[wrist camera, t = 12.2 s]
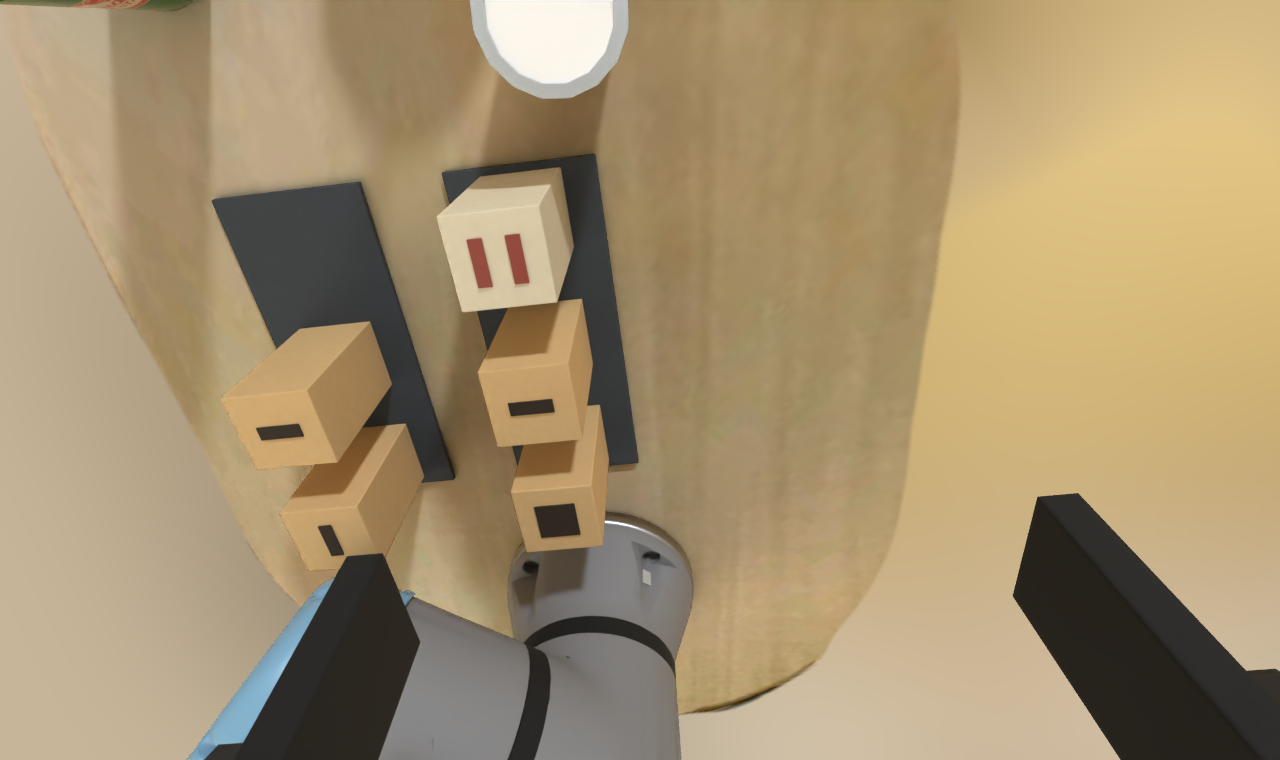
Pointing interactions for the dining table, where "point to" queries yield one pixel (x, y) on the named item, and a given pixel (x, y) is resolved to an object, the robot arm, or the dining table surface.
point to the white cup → (551, 42)
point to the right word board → (578, 284)
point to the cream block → (508, 240)
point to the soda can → (107, 4)
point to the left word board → (332, 287)
